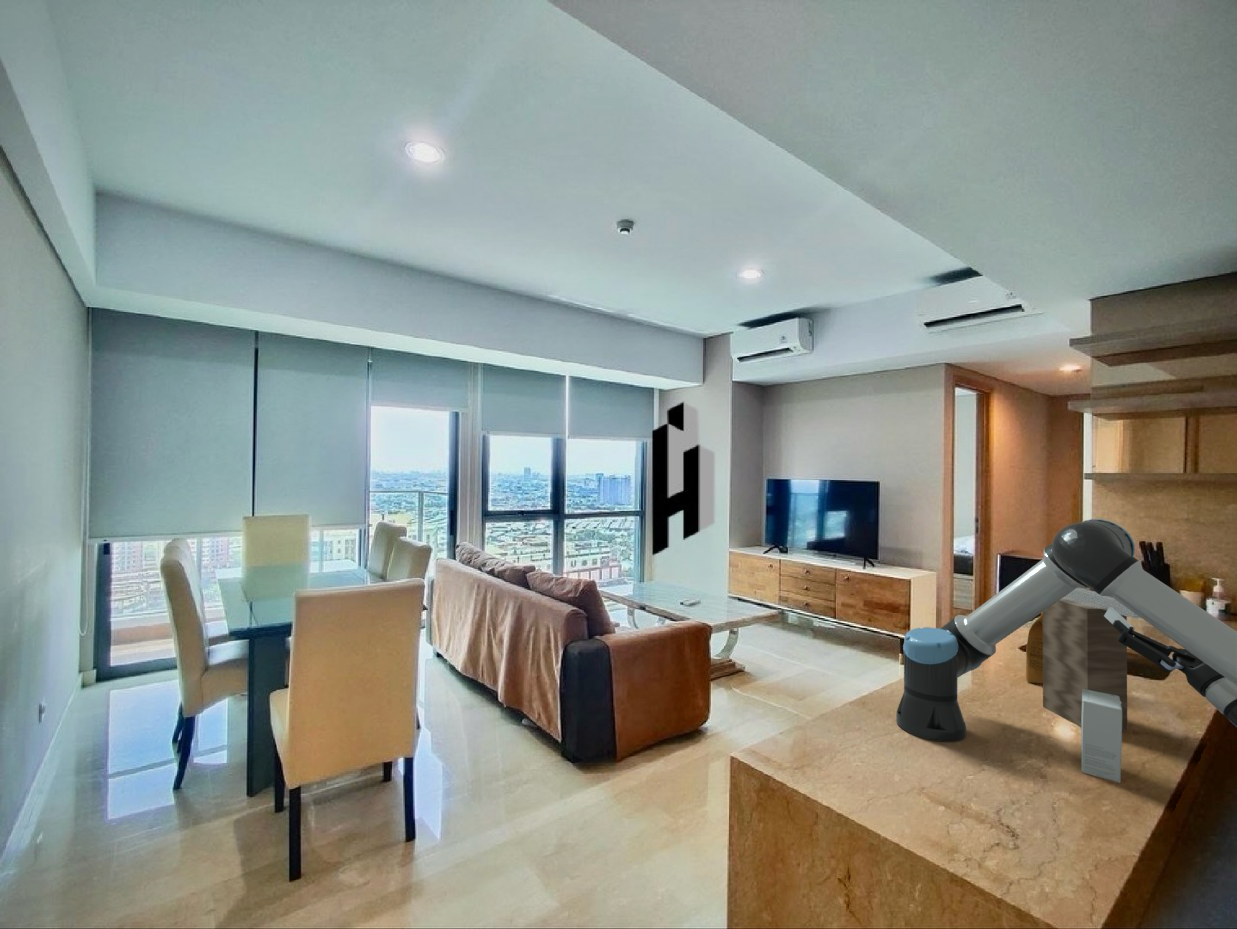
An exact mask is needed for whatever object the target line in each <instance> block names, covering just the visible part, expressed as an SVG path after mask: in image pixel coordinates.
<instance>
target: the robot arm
mask: <svg viewBox="0 0 1237 929" xmlns="http://www.w3.org/2000/svg"><path fill="white" fill-rule="evenodd" d="M1135 545H1136V544H1135V541H1134V539H1133V537H1132V536H1131V534H1130V533H1129V532H1128V530H1126V528H1124V527H1123V526H1121V525H1119V524H1117V523H1115V522H1113V521H1109V520H1106V519H1099V518H1093V519H1087V520H1084V521H1081V522H1080V521H1079V522H1074V523H1071V524H1068V525H1066V526H1064V527H1062V528H1061V529H1060V530H1059V531H1058V532H1056V534H1055V535H1054V537H1053V539H1052V542H1051V543H1049V545H1047V546H1046V547H1044V548H1043V558H1042V559H1041V560H1039V561H1038V562H1037V563H1035V565H1033V566H1032V567H1031V568H1029V569H1028V570H1026V571H1025V572H1024V573H1023V574H1021V575H1020V576H1019V577H1018V578H1016V579H1015V580H1013V581H1012V582H1010V583H1009V584H1008V585H1007V586H1005V587H1004V588H1003V589H1001V590H1000V591H999V592H997V593H996V594H995V595H994V596H992V597H990V598H989V599H987V601H986V602H984V603H983V604H981V605H980V606H979V607H977V608H976V609H975V610H973V611H972V612H971V613H970V614H968V615H962V614H958V615H956V616H954V617H953V618H951V619H950V620H949V621H948V622H947V623H945V624H944V625H943V626H941V627H940V628H938V627H930V626H929V627H928V626H926V627H925V626H924V627H921V628H920V627H916V628H913V629H910V630H908V631H907V632H906V633H905V634H904V639H903V640H904V641H903V645H902V647H903V648H902V650H903V694H902V696H901V699H900V700H899V704H898V707H897V710H896V711H895V712H896V714H895V716H896V717H895V718H896V720H895V722H896V724H897V725H898V726H899V728H901V729H902V730H904V731H906V732H908V733H909V734H910V735H913V736H917V737H919V738H921V739H925V740H926V739H927V740H931V741H935V742H936V741H938V742H946V743H948V742H950V743H951V742H958V741H962V740H964V739H965V738H966V736H967V724H966V722H965V720H964V717H963V713H962V710H961V707H960V704H959V700H958V678H959V677H961V676H963V675H965V674H967V673H969V672H972V671H974V670H977V669H978V668H979V667H980V666H981V665H982V664H983V663H984V662H985V661H986V660H988V659H990V658H991V657H992V656H994V655H995V654H996V652H997V648H996V646H997V644H998V643H1000V642H1001V641H1003V640H1005V639H1006V638H1007V637H1009V636H1010V635H1012V634H1013V633H1015V631H1017V630H1019V629H1020V628H1021V627H1023V626H1024V625H1026V624H1027V623H1029V622H1030V621H1031V620H1033V619H1034V618H1036V617H1037V616H1039V615H1041V613H1042V612H1043V611H1044V610H1046V609H1047V608H1049V607H1050V606H1052V605H1053V604H1054V603H1056V602H1057V601H1059V600H1060V599H1062V598H1063V597H1065V596H1066V595H1067V594H1069V593H1070V592H1072V591H1073V590H1075V589H1076V588H1083V589H1087V590H1091V591H1095V592H1096V593H1098V594H1099V595H1101V596H1110V597H1113V598H1114V599H1115V600H1117V601H1118V602H1120V603H1121V604H1122V605H1124V606H1125V607H1127V608H1128V609H1129V610H1131V611H1132V612H1134V613H1135V614H1137V615H1138V616H1139V617H1141V618H1140V619H1143V620H1144V621H1145V622H1146V623H1148V624H1149V625H1151V626H1152V627H1153V628H1155V629H1156V630H1158V631H1159V632H1161V633H1162V634H1163V635H1164V636H1167V637H1168V638H1169V639H1171V640H1172V641H1173V642H1175V643H1176V644H1177V645H1178V646H1180V647H1182V648H1177V647H1175V646H1173V645H1166V644H1165V643H1162V642H1160V641H1157V640H1155V639H1153V638H1151V637H1149V636H1147V635H1144V634H1142V633H1139V632H1138V631H1136V630H1135V629H1136V628H1135V627H1134V626H1133V625H1132V624H1131V623H1130V622H1129V621H1128V620H1127V621H1126V620H1125V619H1124V618H1123V617H1122V616H1121V615H1120V614H1119V613H1118V612H1117V611H1116V610H1114V609H1113V608H1112V607H1109V608H1108V610H1107V612H1106V613H1105V615H1104V617H1105V618H1107V619H1108V620H1109V621H1110V622H1111V623H1112V625H1113V627H1114V628H1116V629H1117V630H1118V631H1119V632H1120V633H1121V635H1120V637H1119V638H1118V641H1119V642H1120V643H1122V644H1124V645H1125V646H1127V648H1128V649H1130V650H1132V651H1134V652H1135V653H1136V654H1137V653H1138V654H1139V655H1140V656H1142V657H1143V658H1146V660H1149V661H1151V662H1152V663H1154V664H1156V666H1158V667H1159V668H1160V669H1162V670H1163V671H1164V672H1166V673H1168V674H1169V673H1171V672H1172V671H1173V670H1178V671H1180V672H1182V673H1183V674H1184V675H1185V677H1186V681H1187V684H1188V685H1190V686H1191V688H1193V689H1194V690H1195V691H1196V692H1197V693H1198V694H1199V695H1201V696H1202V697H1204V698H1205V700H1206V701H1207V702H1208V703H1209V704H1211V705H1212V707H1214V708H1215V709H1216V710H1217V711H1219V712H1220V714H1222V715H1223V716H1224V717H1225V718H1226V719H1227V720H1228V721H1229V722H1230V723H1231V724H1232V725H1233V726H1235V727H1236V728H1237V630H1235V629H1233V628H1232V627H1230V626H1229V625H1227V624H1226V623H1225V622H1223V621H1222V620H1220V619H1219V618H1217V617H1215V616H1213V615H1212V614H1210V613H1209V612H1208V611H1206V610H1205V609H1204V608H1202V607H1200V606H1199V605H1197V604H1195V603H1194V602H1192V601H1191V600H1190V599H1188V598H1187V597H1185V596H1184V595H1182V594H1181V593H1179V592H1178V591H1176V590H1174V589H1172V588H1171V587H1170V586H1169V585H1167V584H1165V583H1164V582H1162V581H1160V580H1159V579H1158V578H1156V577H1155V576H1153V575H1152V574H1151V573H1149V572H1147V571H1146V570H1144V569H1143V566H1142V561H1141V560H1140V559H1138V558H1136V557H1135V553H1136V552H1135V551H1136V546H1135ZM1171 654H1172V655H1171Z"/></svg>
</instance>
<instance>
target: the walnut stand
mask: <svg viewBox="0 0 1237 929" xmlns="http://www.w3.org/2000/svg"><path fill="white" fill-rule="evenodd" d="M1106 612H1107V611H1106V610H1102V609H1099V608H1095V607H1092V606H1088V605H1084V604H1081V603H1077V602H1074V601H1070V600H1066V599H1063V598H1062V599H1060V600H1059V601H1057V602H1056V603H1054V604H1053V605H1052V606H1050V607H1049V608H1047V609H1046V610H1044V611H1043V684H1042V707H1043V708H1045V709H1046V710H1048V711H1050V712H1052V713H1054V714H1055V715H1057V716H1060V717H1061V718H1063V719H1066V720H1067V721H1069V722H1071V723H1072V724H1075V725H1077V726H1079V727H1080V728H1081V717H1082V689H1086V690H1091V691H1096V692H1101V693H1106V694H1111V695H1116V696H1119V698H1120V701H1121V702H1122V704H1121V707H1122V731H1128V647H1127V646H1125V645H1124V644H1122V643H1120V642H1119V641H1118V638H1119V637H1120V635H1121V633H1120V632H1119V631H1118V630H1117V629H1116V628H1114V627H1113V625H1112V623H1111V622H1110V621H1109V620H1108V619H1107V618H1105V617H1104V615H1105V613H1106ZM1121 616H1122V617H1123V618H1124V619H1125V620H1126V621H1128V616H1124V615H1121Z"/></svg>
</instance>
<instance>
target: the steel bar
mask: <svg viewBox="0 0 1237 929" xmlns="http://www.w3.org/2000/svg"><path fill="white" fill-rule="evenodd" d="M1063 599H1066V600H1070V601H1074V602H1077V603H1081V604H1084V605H1088V606H1092V607H1095V608H1099V609H1102V610H1106V611H1107V610H1108V608H1109V607H1112V608H1113V609H1114V610H1116V611H1117V612H1118V613H1119V614H1120V615H1124V616H1127V618H1132V619H1142V618H1141V617H1139V616H1138V615H1137V614H1135V613H1134V612H1132V611H1131V610H1129V609H1128V608H1127V607H1125V606H1124V605H1122V604H1121V603H1120V602H1118V601H1117V600H1115V599H1114V598H1113V597H1110V596H1101V595H1099V594H1098V593H1096V592H1095V591H1093V590H1092V589H1087V588H1076V589H1075V590H1073V591H1072V592H1070V593H1069V594H1067V595H1066V596H1065V597H1063Z"/></svg>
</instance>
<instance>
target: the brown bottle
mask: <svg viewBox="0 0 1237 929" xmlns="http://www.w3.org/2000/svg"><path fill="white" fill-rule="evenodd" d="M1025 649H1026V650H1025V654H1026V655H1025V656H1026V658H1025V660H1026V661H1025V681H1026V682H1028V683H1033V684H1039V685H1043V612H1042V613H1040V616H1039V617H1038V618H1037V619H1036V620H1035V621H1034V622H1033V623H1032V624H1031V626H1030V628H1029V630H1028V635H1027V642H1026V647H1025Z"/></svg>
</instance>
